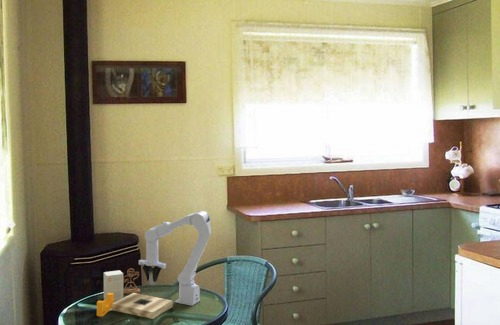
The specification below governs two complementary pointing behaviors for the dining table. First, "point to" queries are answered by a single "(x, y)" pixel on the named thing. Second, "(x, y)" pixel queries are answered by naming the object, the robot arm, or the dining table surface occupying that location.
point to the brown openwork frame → (127, 290)
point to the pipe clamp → (105, 305)
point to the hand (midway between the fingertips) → (152, 280)
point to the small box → (113, 284)
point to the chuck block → (142, 305)
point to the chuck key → (151, 278)
